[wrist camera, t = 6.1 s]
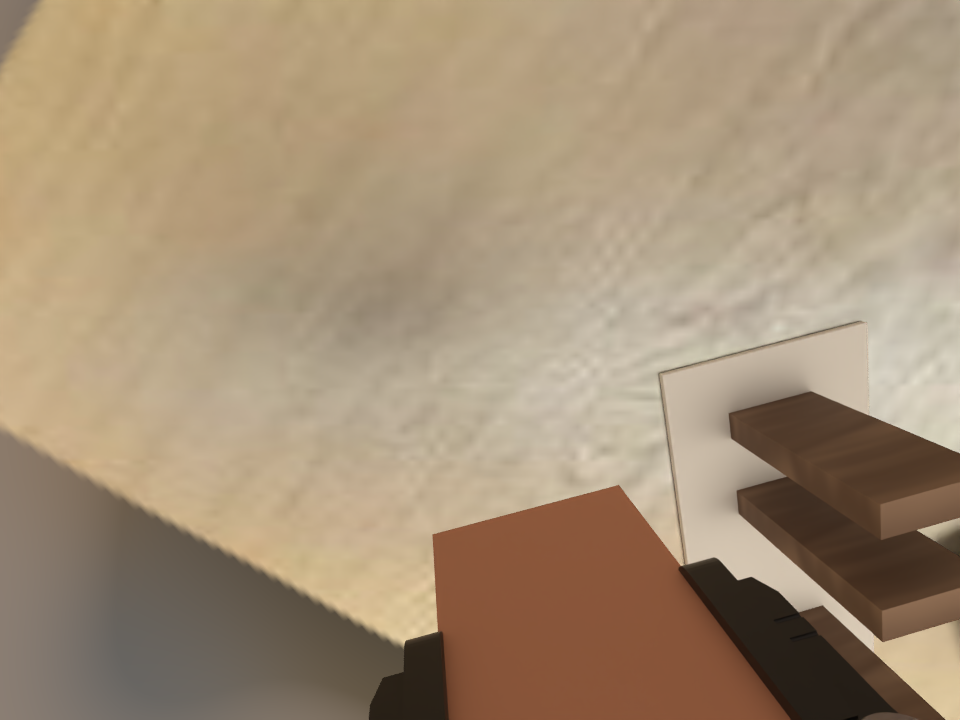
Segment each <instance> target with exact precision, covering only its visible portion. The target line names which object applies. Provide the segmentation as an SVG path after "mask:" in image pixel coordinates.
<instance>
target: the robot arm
mask: <svg viewBox="0 0 960 720" xmlns="http://www.w3.org/2000/svg"><path fill="white" fill-rule="evenodd" d="M678 570H679V571H680V573H681V574H682V575H683V577H684V578H685V579H686V581H687V582H688V583H689V585H690V586H691V587H692V589H693V590H694V591H695V593H696V594H697V595H698V597H699V598H700V599H701V601H702V602H703V603H704V605H705V606H706V607H707V609H708V610H709V611H710V612H711V614H712V615H713V616H714V618H715V619H716V620H717V622H718V623H719V624H720V626H721V627H722V628H723V630H724V631H725V632H726V634H727V635H728V636H729V638H730V639H731V640H732V642H733V643H734V644H735V646H736V647H737V648H738V650H739V651H740V652H741V654H742V655H743V656H744V658H745V659H746V660H747V662H748V663H749V664H750V666H751V667H752V668H753V670H754V671H755V672H756V674H757V675H758V676H759V678H760V679H761V680H762V682H763V683H764V684H765V686H766V687H767V688H768V690H769V691H770V692H771V694H772V695H773V696H774V698H775V699H776V700H777V702H778V703H779V704H780V706H781V707H782V708H783V710H784V711H785V712H786V714H787V715H788V716H789V717H790V719H791V720H920V719H917V718H914V717H911V716H908V715H903V714H899V713H898V712H897V711H895V710H894V709H893V708H892V707H891V706H890V705H889V704H888V703H887V702H886V701H885V700H884V699H883V698H882V697H881V696H880V695H879V694H878V693H877V692H876V691H875V690H874V689H873V688H872V687H871V686H870V685H869V684H868V683H867V682H866V681H865V679H864V678H863V677H862V676H861V675H860V674H859V673H858V672H857V671H856V670H855V669H854V668H853V667H852V666H851V665H850V664H849V663H848V662H847V661H846V660H845V659H844V658H843V657H842V656H841V655H840V654H839V653H838V652H837V651H836V650H835V649H834V648H833V647H832V646H831V645H830V644H829V643H828V642H827V641H826V640H825V639H824V638H823V637H822V635H818V633H817V630H816V629H815V628H814V627H813V626H812V625H811V624H810V623H809V622H808V621H807V620H806V619H805V618H804V617H801V616H800V614H799V612H798V611H797V610H796V609H795V608H794V607H793V606H792V605H791V604H790V603H789V602H788V601H787V600H786V599H785V598H784V597H783V596H782V595H781V594H780V593H779V592H778V591H777V590H775V589H773V588H771V587H769V586H768V585H766V584H764V583H762V582H760V581H758V580H757V579H755V578H753V577H748V578H745V579H741V580H737V579H736V578H735V577H734V576H733V574H732V573H731V572H730V571H729V570H728V569H727V568H726V567H725V566H724V564H723V563H722V562H721V561H720V560H719V559H717V558H715V557H713V558H709V559H706V560H702V561H698V562H695V563H691V564H687V565H684V566H680V567H679V568H678ZM369 720H449V714H448V699H447V685H446V670H445V655H444V641H443V633H442V631H440V632H436V633H432V634H429V635H425V636H421V637H418V638H414V639H410V640H407V641H405V646H404V672H402V673H399V674H395V675H391V676H388V677H384V678H383V679H382V681H381V683H380V685H379V687H378V690H377V692H376V694H375V696H374V698H373V700H372V702H371V704H370V712H369Z"/></svg>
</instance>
